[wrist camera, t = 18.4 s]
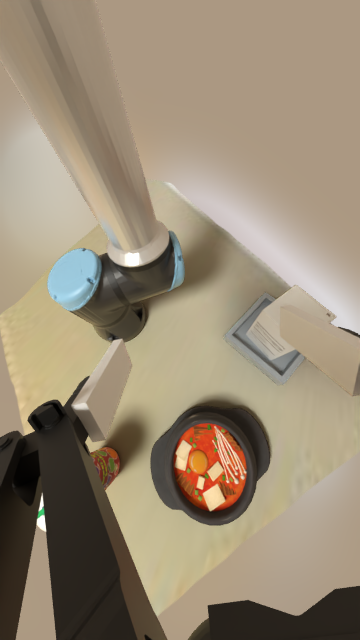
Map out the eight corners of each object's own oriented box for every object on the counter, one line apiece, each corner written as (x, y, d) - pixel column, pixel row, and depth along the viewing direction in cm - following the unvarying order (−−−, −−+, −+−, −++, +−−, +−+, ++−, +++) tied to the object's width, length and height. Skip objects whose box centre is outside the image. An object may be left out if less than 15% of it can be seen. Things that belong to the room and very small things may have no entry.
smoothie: (132, 457, 40) (72, 512, 22) (109, 496, 38) (20, 596, 19) (106, 433, 42) (31, 465, 24) (82, 469, 40) (-19, 535, 22)
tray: (223, 338, 47) (224, 335, 44) (261, 298, 51) (265, 292, 47) (277, 384, 42) (283, 384, 39) (316, 336, 45) (325, 331, 42)
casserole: (240, 388, 43) (249, 387, 35) (285, 482, 35) (308, 508, 28) (143, 427, 42) (129, 435, 34) (167, 531, 35) (157, 571, 27)
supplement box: (269, 314, 47) (296, 282, 34) (297, 339, 44) (340, 316, 30) (244, 333, 46) (261, 309, 33) (270, 361, 43) (301, 347, 29)
